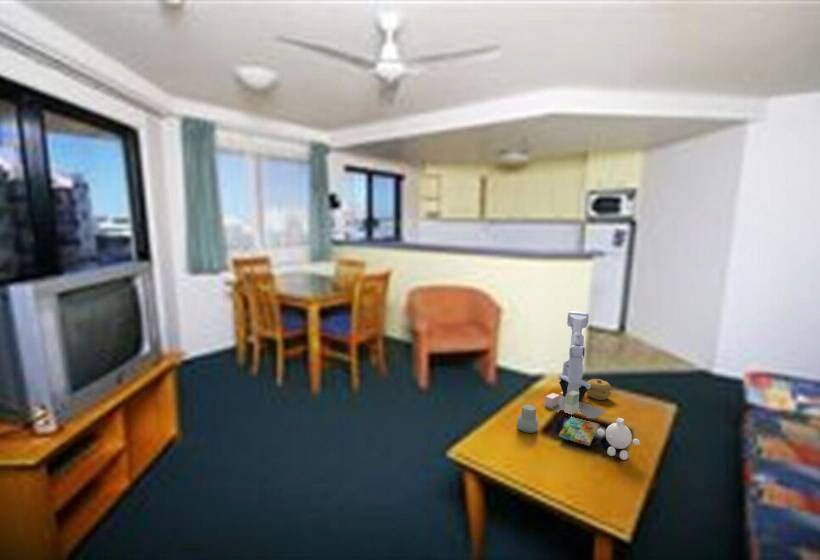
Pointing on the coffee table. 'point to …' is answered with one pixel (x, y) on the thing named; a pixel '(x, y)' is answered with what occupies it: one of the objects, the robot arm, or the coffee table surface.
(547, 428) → the coffee table surface
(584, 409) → the mat
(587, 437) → the puzzle game
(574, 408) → the cream brick
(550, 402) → the rose brick
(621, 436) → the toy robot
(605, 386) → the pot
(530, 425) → the air freshener
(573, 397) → the sage brick
